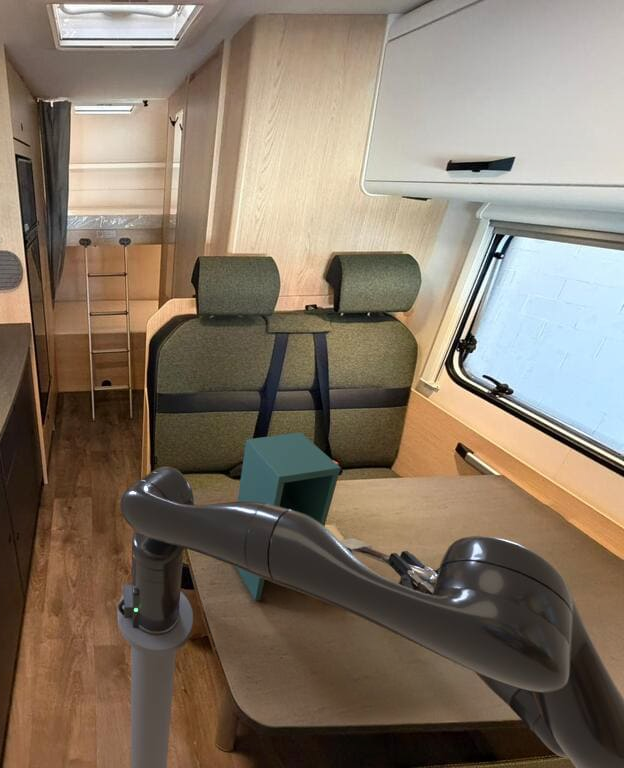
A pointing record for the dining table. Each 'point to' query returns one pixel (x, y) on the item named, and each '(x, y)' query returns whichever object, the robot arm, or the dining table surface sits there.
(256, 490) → the shelf
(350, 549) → the metal spatula
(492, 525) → the dining table surface
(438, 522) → the dining table surface
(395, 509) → the dining table surface
